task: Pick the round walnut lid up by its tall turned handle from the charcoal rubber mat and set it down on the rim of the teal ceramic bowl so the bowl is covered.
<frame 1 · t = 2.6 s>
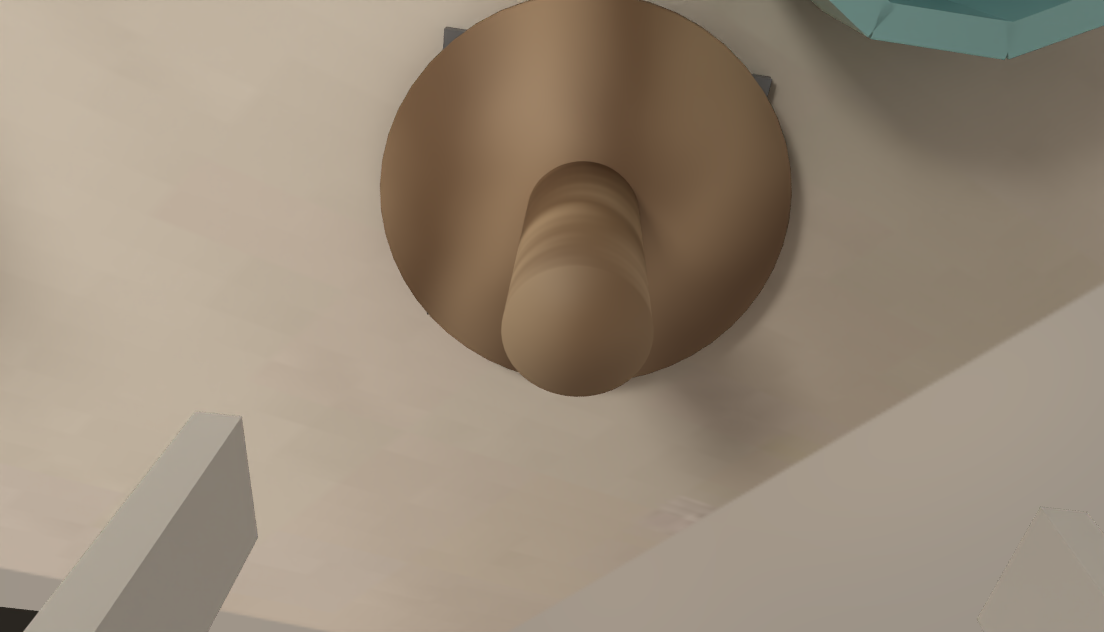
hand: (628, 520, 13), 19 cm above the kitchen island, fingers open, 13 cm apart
lid: (583, 207, 30), resting on mat
mat: (583, 204, 31), on the kitchen island
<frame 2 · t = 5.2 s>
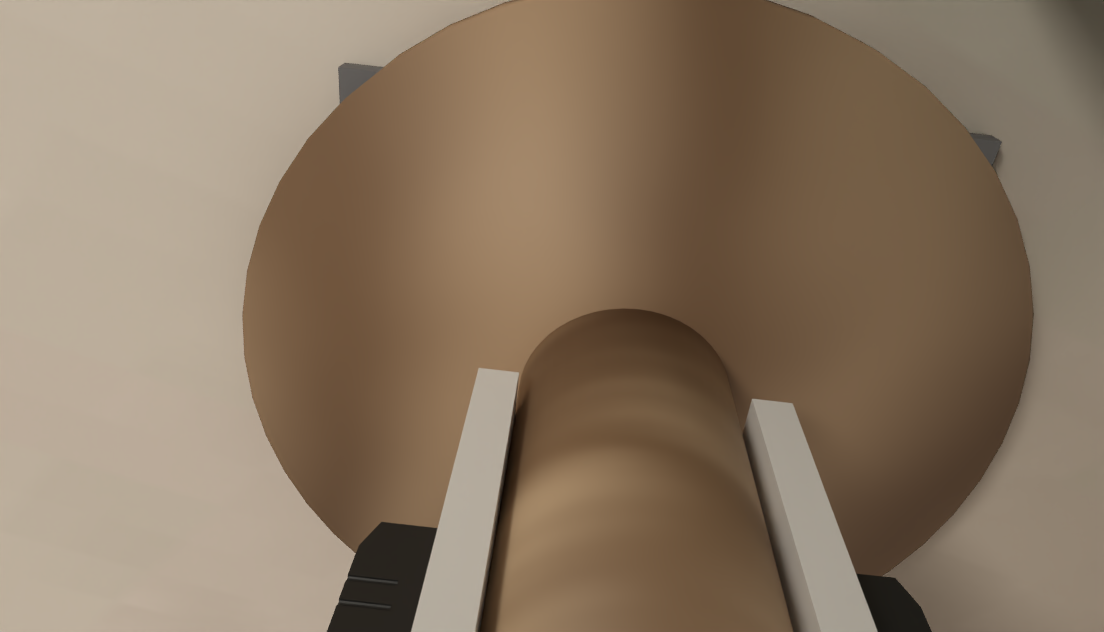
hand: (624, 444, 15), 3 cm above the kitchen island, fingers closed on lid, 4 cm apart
lid: (622, 378, 16), resting on mat, touching gripper
mat: (621, 368, 17), on the kitchen island
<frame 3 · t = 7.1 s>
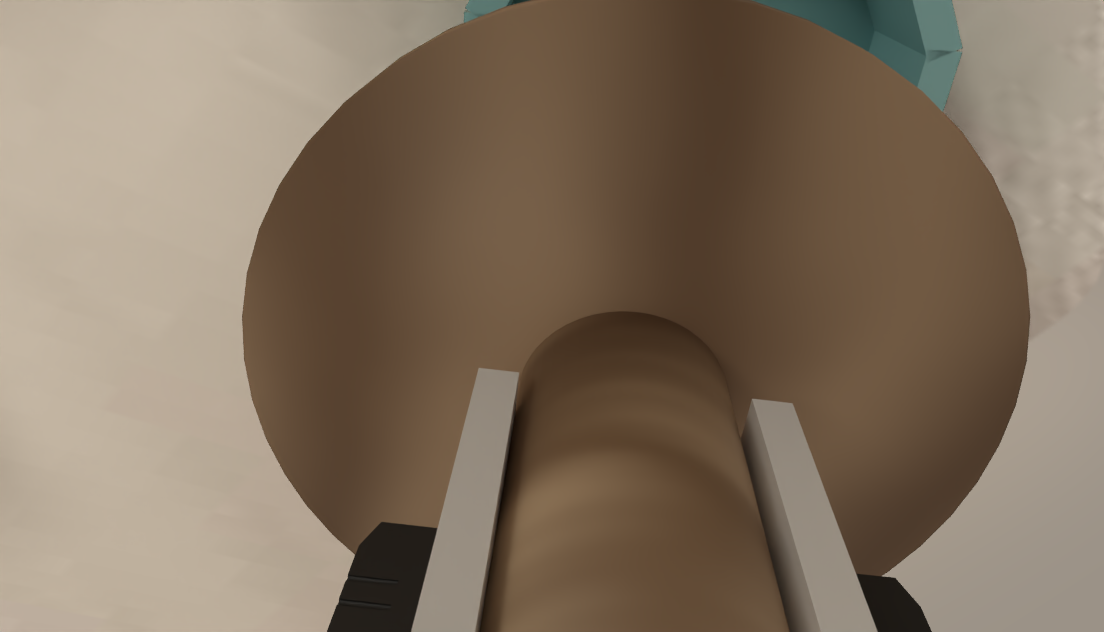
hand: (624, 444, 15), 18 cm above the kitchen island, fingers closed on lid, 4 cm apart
lid: (620, 380, 17), point 16 cm above the kitchen island, touching gripper
bowl: (683, 61, 29), on the kitchen island
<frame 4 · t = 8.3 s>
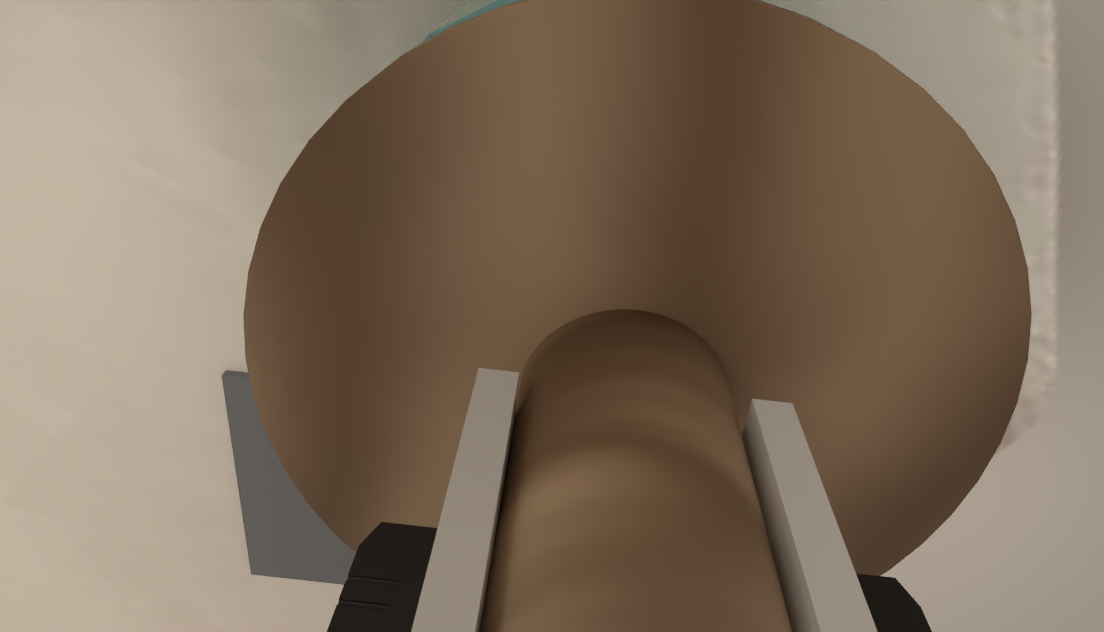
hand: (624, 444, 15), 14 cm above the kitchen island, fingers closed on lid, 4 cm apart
lid: (621, 379, 17), point 12 cm above the kitchen island, touching gripper
bowl: (610, 185, 27), on the kitchen island
mat: (370, 491, 35), on the kitchen island
when the fingers open (9 cm above the kitchen island, at t = 9.4 s): lid drops 1 cm, resting on bowl.
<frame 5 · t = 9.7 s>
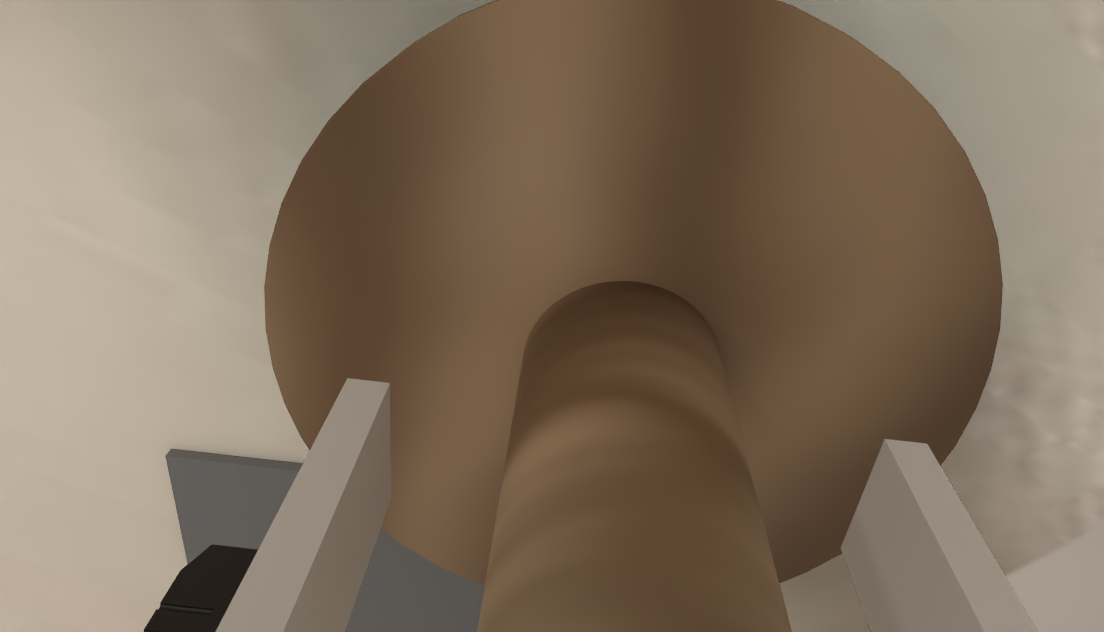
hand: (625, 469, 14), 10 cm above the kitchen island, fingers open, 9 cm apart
lid: (619, 349, 18), point 6 cm above the kitchen island, touching bowl
mat: (340, 580, 31), on the kitchen island
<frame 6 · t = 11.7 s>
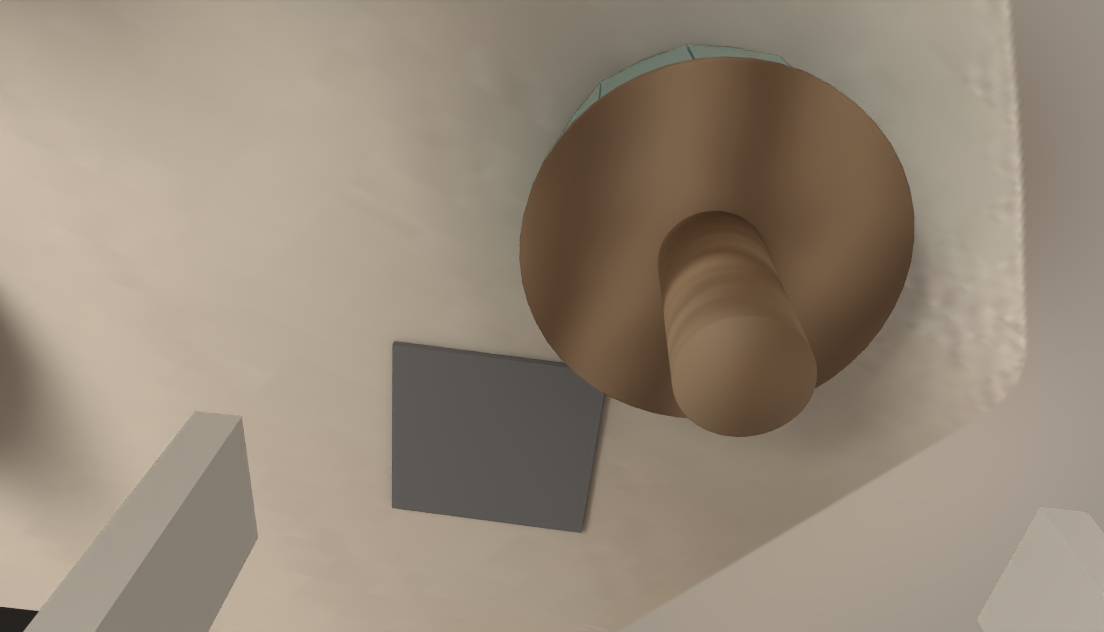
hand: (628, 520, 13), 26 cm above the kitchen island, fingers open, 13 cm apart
lid: (709, 253, 32), point 6 cm above the kitchen island, touching bowl
bowl: (696, 205, 37), on the kitchen island
mat: (493, 440, 45), on the kitchen island
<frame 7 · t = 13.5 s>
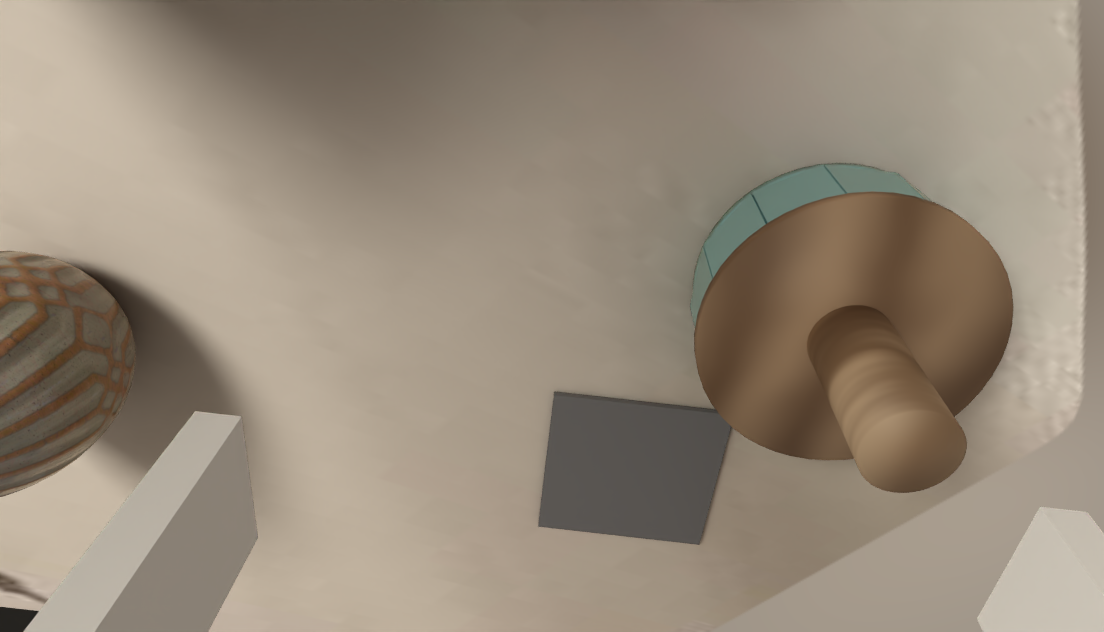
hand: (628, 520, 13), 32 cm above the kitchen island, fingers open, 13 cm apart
vase: (73, 310, 49), on the kitchen island
lid: (845, 333, 40), point 6 cm above the kitchen island, touching bowl
bowl: (818, 284, 45), on the kitchen island
mat: (630, 470, 53), on the kitchen island
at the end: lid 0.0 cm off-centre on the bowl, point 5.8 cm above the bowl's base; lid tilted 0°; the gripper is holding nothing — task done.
